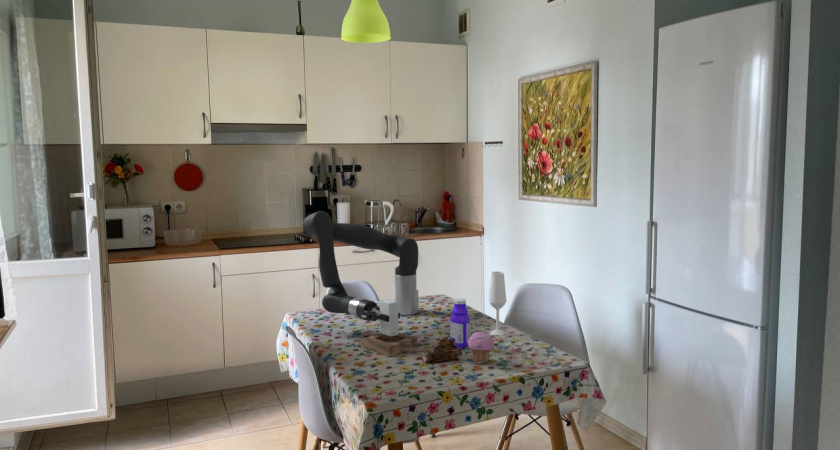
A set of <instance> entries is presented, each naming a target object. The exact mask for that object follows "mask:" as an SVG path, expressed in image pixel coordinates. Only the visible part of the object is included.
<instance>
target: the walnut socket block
mask: <svg viewBox="0 0 840 450" xmlns="http://www.w3.org/2000/svg"><path fill="white" fill-rule="evenodd" d="M415 347H416V348H418V337H416V336H414V335H408V334H405V333H402V332H399V334H398V335H395V336H388V335H385V334H383V333H381V332H380V333H376V334H373V335H370V336H367V337H364V338H362V349H365V350H368V351H370V350H371V352H374V353H377V354H380V353H381V354H380V355H383V354H384V355H383V356H386V355H388V356H387V357H389V356H390V357H392V356H395V355H398V354H401V353H404V352H407V351H410V350H413V349H415ZM412 348H413V349H412ZM409 349H410V350H409ZM406 350H407V351H406ZM403 351H404V352H403ZM400 352H401V353H400ZM397 353H398V354H397ZM394 354H395V355H394ZM391 355H392V356H391Z"/></svg>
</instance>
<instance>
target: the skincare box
mask: <svg viewBox="0 0 840 450" xmlns="http://www.w3.org/2000/svg"><path fill="white" fill-rule="evenodd" d="M378 303H379V305H378V306H380V313H381V314H385V315H388V316H389V322H386V321H382V320H380V321H379V323H380V324H379V325H380V328H379V329H380V333H383V334H385V335H388V336H395V335H398V334H399V333H400V331H399V330H400V328H399V327H400V326H399V319H398V302H396V300H392V299H388V298H387V299H382V300H379V302H378Z"/></svg>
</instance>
